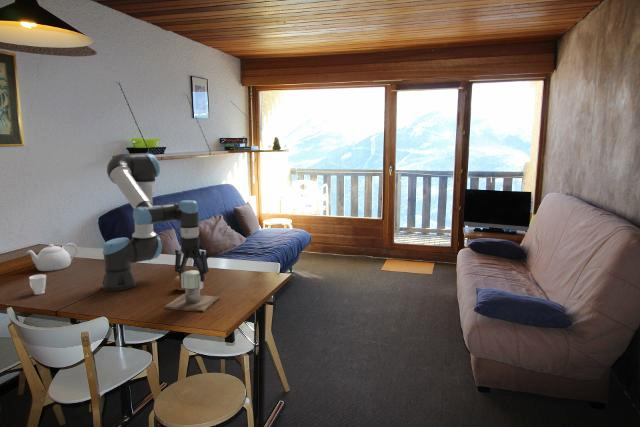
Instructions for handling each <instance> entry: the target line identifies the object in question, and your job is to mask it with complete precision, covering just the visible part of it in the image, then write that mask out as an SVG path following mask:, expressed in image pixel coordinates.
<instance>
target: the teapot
mask: <svg viewBox="0 0 640 427" xmlns="http://www.w3.org/2000/svg"><path fill="white" fill-rule="evenodd" d="M68 246H73V247H74V248H75V253H74V254H73V255H72V256H71V255H70V253H69V252H68V249H67V247H68ZM78 252H79V250H78V247H77V245H76V244H74V243H72V242H69V243H67V244H65V245H64V247H63V246H58V245H54V244H53V243H50V244H48V246H46V247H44V248H43V249H41V250H40V251H39V252H38V254H36V253H35V252H34V251H33V250H32V249H29V250H27V251H26V254H29V255H30V256H31V260H32V262H33V264H34V265H35V267H36V269H37V271H39V272H40V271H41V272H54V270H55V271H60V270H63V269H67V268H68V267H69V266H71V263H72V262H73V259H74V258H75V257H76V256H77V255H78Z"/></svg>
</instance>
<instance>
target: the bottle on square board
mask: <svg viewBox="0 0 640 427" xmlns="http://www.w3.org/2000/svg"><path fill="white" fill-rule="evenodd" d="M200 291H201V290H199V287H198V288H193V289H187V288H185V290H184V292H185V293H182V294H181V295H180V296H178V297H177V298H175V299H174V300H172V301H171V302H168V303H167V304H166V305H164V309H165V310H166V309H167V310H178V311H188V312H198V311H203V312H202V313H204V312H205V311H207V310H208V309H209V308H210V307H212V306H213V305H214V304H215V303H214V302H216V301H217V300H218V299H219V298H220V299H221V296H216V295H215V296H214V295H204V294H203V295H202V294H201V292H200ZM220 299H219V300H220ZM219 300H218V301H219ZM218 301H217V302H218ZM217 302H216V303H217ZM213 303H214V304H213ZM212 304H213V305H212ZM211 305H212V306H211ZM209 306H210V307H209ZM208 307H209V308H208ZM207 308H208V309H207ZM206 309H207V310H206Z"/></svg>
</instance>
